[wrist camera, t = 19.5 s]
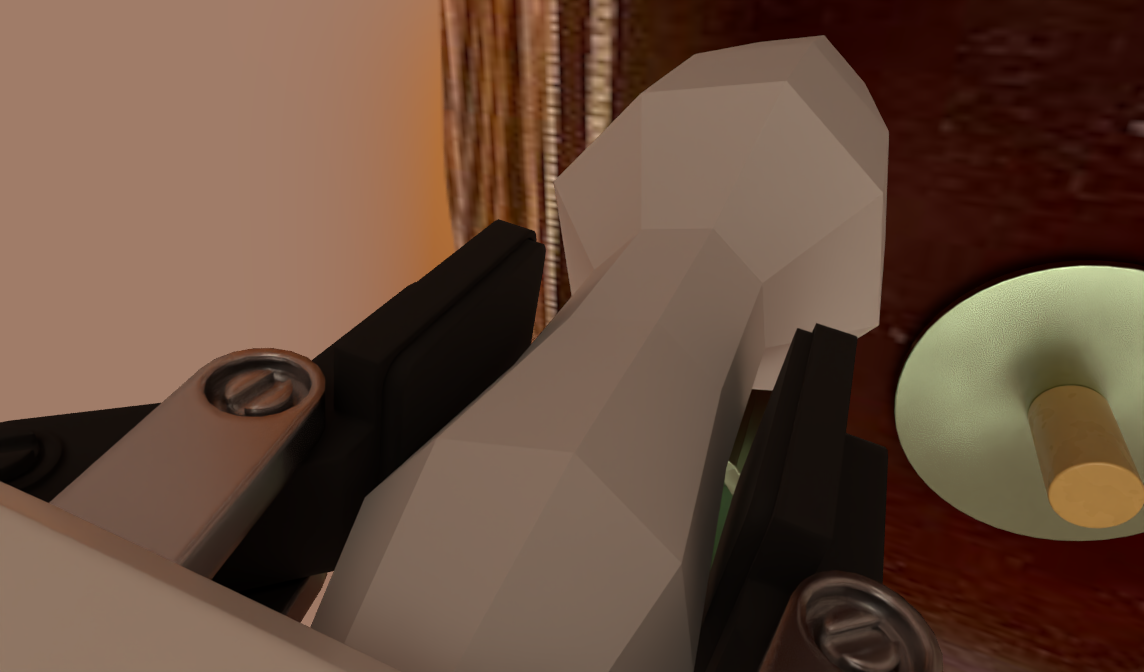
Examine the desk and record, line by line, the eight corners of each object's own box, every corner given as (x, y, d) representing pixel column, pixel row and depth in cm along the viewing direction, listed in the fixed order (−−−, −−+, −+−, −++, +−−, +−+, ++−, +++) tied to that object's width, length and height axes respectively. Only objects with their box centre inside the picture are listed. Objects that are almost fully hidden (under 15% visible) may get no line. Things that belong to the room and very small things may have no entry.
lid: (971, 211, 31) (986, 276, 26) (1351, 317, 29) (1459, 415, 23) (850, 461, 39) (843, 553, 33) (1144, 565, 36) (1189, 685, 30)
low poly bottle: (655, 61, 24) (-40, 505, 7) (858, -39, 21) (578, 299, 3) (730, 239, 26) (349, 963, 8) (928, 172, 23) (987, 1110, 5)
